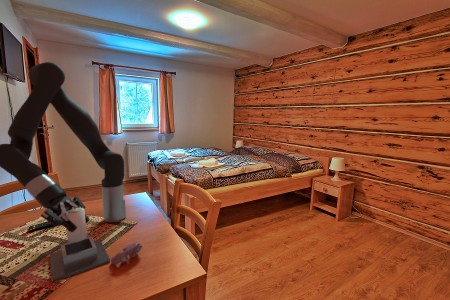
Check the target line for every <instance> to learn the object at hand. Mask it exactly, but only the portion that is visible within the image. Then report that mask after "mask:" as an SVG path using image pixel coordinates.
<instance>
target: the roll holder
mask: <svg viewBox="0 0 450 300" xmlns="http://www.w3.org/2000/svg"><path fill="white" fill-rule="evenodd" d="M60 249H61V250H60V251H57V252H53V253H50V254H49V259H50V268H51V279H52V283H55V282H59V281H61V280H64V279H67V278H69V277H72V276H75V275H78V274H81V273H83V272H86V271H89V270H91V269H94V268H97V267H100V266H103V265H105V264H108V263H110V262H111V259H110V257H109V255H108V252H107V251H106V249H105V246H104V245H103V243H102V241H101V239H97V240H94V239H93V237H92V236H88V237H87V236H86V238H85V239H84V240H82V241H79V242H75V243H70V242H66V243H64V244H60Z"/></svg>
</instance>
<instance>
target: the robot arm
mask: <svg viewBox="0 0 450 300" xmlns="http://www.w3.org/2000/svg"><path fill="white" fill-rule="evenodd" d="M27 76H28V80H29V81H30V83H31V84H32V85H33V88H32V90H31V91H30V94H29V95H28V97H27V98H26V100H24V102H23V104H22V105H21V106H20V108H19V109H18V110H17V112H16V114H15V115H14V117H13V118H12V121H11V124H10V126H9V127H8V129H7V135H8V137H9V138H10V143H0V168H1V169H3V170H4V171H5V172H7V173H8V174H9V175H11V176H13V177H14V178H15V179H16V180H17V181H18V182H19V184H21V185H22V186H23V187H24V188H25V190H27V192H28V193H29V195H30V196H31V197H32V198H33V199H34V200H35V201H37V203H38V204H39V205H40V206H42V207H43V208H44V209H45V210H44V211H43V212H42V214H40V216H41V218H43V219H44V220H46V221H47V222H49V223H50V224H51V225H53V226H54V227H59V226H63V227H64V228H66V231H67V230H68V231H71V232H74V231H75V230H76V229H77V227H76V226H75V225H74V224H73V223H72V222H71V221H70V220H68V217H67V216H66V214H67V211H68V210H71V209H74V208H84V209H85V210H86V209H87V208H86V206H85V205H84V203H83V201H82V200H81V199H80V197H79V196H77V195H75V196H74V197H72V198H71V197H69V196H67V192H66V191H65V189H63V187H62V186H60V184H59V183H57V182H56V180H55V179H54V178H52V177H51V176H50V175H48V174H47V173H46V172H45V171H44V170H43V169H42V168H41V166H39V165H38V164H36V163H34V162H32V161H30V157H31V155H32V150H33V145H34V138H35V136H36V134H37V131H38V129H39V126H40V125H41V122H42V120H43V118H44V115H45V113H46V111H47V109H48V108H49V105H51V106H52V107H53V108H54V109H55V111H56V112H57V113H58V115H59V116H60V118H62V120H63V121H64V123H66V125H67V126H68V128H69V129H70V130H71V132H73V134H74V135H75V136H76V137H77V139H78V140H79V141H80V142H81V143H82V144H83V146H85V148H86V149H87V150H89V153H90V154H91V155H92V157H93V159H94V160H95V162H96V163H97V165H98V167H100V169H102V170H104V178H102V180H101V195H102V197H101V198H102V211H103V221H104V222H106V223H116V222H119V221H121V220H123V219H125V218H127V214H126V213H127V211H126V199H125V198H124V197H125V196H124V195H125V194H124V178H125V160H124V157H123V156H122V155H121V153H119V152H115V151H112V150H111V149H110V148H109V147H108V146H107V145H106V144H105V142H104V141H103V139H102V136H101V133H100V130H99V127H98V125H97V124H96V122H95V120H94V119H93V118H92V117H91V115H90V114H89V112H88V111H87V110H86V109H85V108H83V107H82V106H81V105H79V104H78V102H76V101H75V100H73V99H72V98H71V97H70V96H69V95H68V94H67V92H66V91H65V90H64V89H63V87H62V86H63V84H64V83H65V81H66V74H65V71H64V70H63V69H62V67H61V66H59V65H58V64H56V63H54V62H45V61H44V62H41V63H37V64H36V65H34V66H32V67H30V68H29V70H28V73H27ZM89 222H90V218H89V216H88V215H87V214H86V213H85V223H86V224H87V223H89Z"/></svg>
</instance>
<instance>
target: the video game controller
mask: <svg viewBox="0 0 450 300" xmlns="http://www.w3.org/2000/svg"><path fill="white" fill-rule="evenodd" d="M142 248H143V245H142V244H141V243H139V242H137V241H136V242H134V243H131V244H128V245H126V246H125V247H124V248H123V249H121V250H120V251H118V252H117V253H116V254H115V255H114V256H113V257H112V258H111V259H110V262H111V265H113V266H115V265H118V264H120V263H122V264H125V263H126V262H128V260H129V258H130V259H133V258H134V257H135V256H137V254H138V253H139V252H140V251H141V250H142Z"/></svg>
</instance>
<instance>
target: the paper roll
mask: <svg viewBox="0 0 450 300" xmlns="http://www.w3.org/2000/svg"><path fill="white" fill-rule="evenodd" d="M85 210H86V208H85V209H84V208H81V207H80V208H74V209H73V208H72V209H71V210H68V211H67V214H66V216H67V217H68V220H70V221H71V222H72V223H73V224H74V225H75V226H76V227H77V229H76V230H75V231H74V232H71V231H68V230H67V229H66V237H67V238H66V239H67V243H75V242H79V241H82V240H84V239H85V238H87V226H86V224H87V223H85V214H86V213H85Z"/></svg>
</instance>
